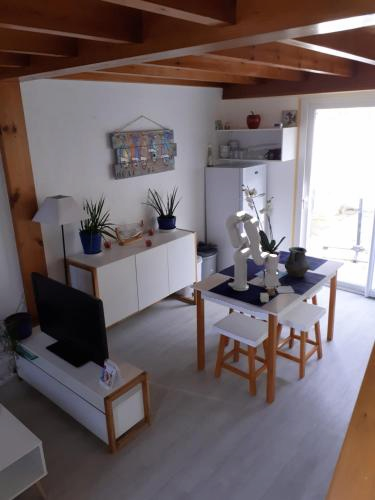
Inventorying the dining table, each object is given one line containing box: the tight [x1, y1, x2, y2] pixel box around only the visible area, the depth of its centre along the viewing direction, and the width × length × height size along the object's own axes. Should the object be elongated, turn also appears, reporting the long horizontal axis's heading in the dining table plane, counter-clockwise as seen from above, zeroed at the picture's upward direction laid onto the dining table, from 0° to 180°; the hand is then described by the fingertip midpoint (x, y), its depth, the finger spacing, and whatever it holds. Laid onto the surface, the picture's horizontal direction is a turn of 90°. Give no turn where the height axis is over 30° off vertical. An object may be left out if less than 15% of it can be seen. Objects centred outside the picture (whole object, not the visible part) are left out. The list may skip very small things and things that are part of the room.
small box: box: [262, 268, 280, 282], centre depth 329 cm, size 11×6×10 cm, turn 105°
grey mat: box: [276, 285, 295, 294], centre depth 315 cm, size 12×12×1 cm
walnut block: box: [268, 286, 276, 297], centre depth 307 cm, size 5×5×5 cm
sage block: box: [259, 292, 270, 303], centre depth 298 cm, size 5×5×5 cm
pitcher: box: [284, 246, 311, 279], centre depth 336 cm, size 21×22×25 cm
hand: (270, 293), depth 308 cm, fingers closed on walnut block, 4 cm apart
